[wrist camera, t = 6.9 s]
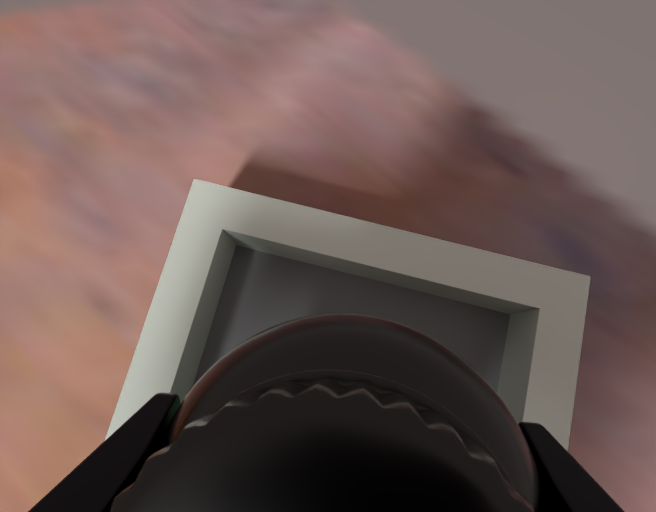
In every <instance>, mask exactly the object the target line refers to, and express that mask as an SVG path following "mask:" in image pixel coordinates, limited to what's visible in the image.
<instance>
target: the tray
mask: <svg viewBox="0 0 656 512" xmlns="http://www.w3.org/2000/svg"><path fill="white" fill-rule="evenodd" d="M590 278H591V276H587V275H583V274H579V273H575V272H571V271H567V270H563V269H559V268H555V267H551V266H547V265H543V264H539V263H534V262H530V261H526V260H522V259H518V258H514V257H510V256H506V255H502V254H498V253H494V252H490V251H486V250H482V249H478V248H474V247H469V246H465V245H461V244H457V243H453V242H449V241H445V240H441V239H437V238H433V237H429V236H425V235H421V234H417V233H413V232H409V231H404V230H400V229H396V228H392V227H388V226H384V225H380V224H376V223H372V222H368V221H364V220H360V219H356V218H352V217H348V216H344V215H339V214H335V213H331V212H327V211H323V210H319V209H315V208H311V207H307V206H303V205H299V204H295V203H291V202H287V201H283V200H279V199H275V198H270V197H266V196H262V195H258V194H254V193H250V192H246V191H242V190H238V189H234V188H230V187H226V186H222V185H218V184H214V183H210V182H205V181H201V180H197V179H194V181H193V183H192V186H191V189H190V192H189V195H188V198H187V201H186V204H185V207H184V210H183V213H182V216H181V219H180V222H179V224H178V227H177V230H176V233H175V236H174V239H173V242H172V245H171V248H170V251H169V254H168V257H167V260H166V263H165V266H164V268H163V271H162V274H161V277H160V280H159V283H158V286H157V289H156V292H155V295H154V298H153V301H152V304H151V307H150V310H149V312H148V315H147V318H146V321H145V324H144V327H143V330H142V333H141V336H140V339H139V342H138V345H137V348H136V351H135V354H134V356H133V359H132V362H131V365H130V368H129V371H128V374H127V377H126V380H125V383H124V386H123V389H122V392H121V395H120V398H119V400H118V403H117V406H116V409H115V412H114V415H113V418H112V421H111V424H110V427H109V430H108V433H107V436H106V439H107V438H109V437H110V436H111V435H112V434H113V433H114V432H115V431H116V430H117V429H118V428H119V427H120V426H122V425H123V424H124V423H125V422H126V421H127V420H128V419H129V418H130V417H131V416H132V415H133V414H135V413H136V412H137V411H138V410H139V409H140V408H141V407H142V406H143V405H144V404H145V403H146V402H148V401H149V400H150V399H151V398H152V397H153V396H154V395H155V394H157V393H174V394H177V395H178V396H179V398H180V403H182V401H183V400H184V398H185V397H186V396H187V394H188V393H189V392H190V390H191V389H192V388H193V386H194V385H195V384H196V382H197V381H198V380H199V379H200V378H201V377H202V376H203V375H204V374H205V373H206V371H207V370H208V369H209V368H210V367H211V366H212V365H214V364H215V363H216V362H217V361H218V360H219V359H220V358H221V357H222V356H224V355H225V354H226V353H228V352H229V351H230V350H232V349H233V348H234V347H236V346H237V345H238V344H240V343H242V342H243V341H245V340H247V339H248V338H250V337H251V336H253V335H255V334H257V333H259V332H261V331H263V330H265V329H268V328H270V327H272V326H275V325H278V324H281V323H283V322H286V321H290V320H294V319H298V318H301V317H307V316H313V315H319V314H334V313H345V314H360V315H367V316H374V317H379V318H383V319H387V320H391V321H394V322H397V323H400V324H403V325H406V326H409V327H411V328H414V329H416V330H418V331H420V332H422V333H424V334H427V335H429V336H430V337H432V338H434V339H435V340H437V341H439V342H441V343H442V344H444V345H445V346H447V347H448V348H450V349H451V350H453V351H454V352H455V353H457V354H458V355H460V356H461V357H462V358H463V359H464V360H465V361H467V362H468V363H469V364H470V365H471V366H472V367H474V368H475V369H476V370H477V371H478V372H479V373H480V374H481V375H482V376H483V377H484V378H485V379H486V381H487V382H488V383H489V384H490V385H491V386H492V387H493V389H494V390H495V391H496V392H497V394H498V395H499V396H500V397H501V399H502V400H503V401H504V403H505V404H506V406H507V407H508V409H509V410H510V412H511V413H512V415H513V416H514V418H515V420H516V421H517V423H520V422H532V423H539V424H541V425H542V426H544V427H545V428H546V429H547V430H548V431H549V432H550V433H551V435H552V436H553V437H554V438H555V439H556V440H557V441H558V442H559V443H560V444H561V445H562V446H563V447H564V448H565V449H566V450H567V451H568V446H569V439H570V431H571V423H572V416H573V408H574V400H575V393H576V385H577V378H578V370H579V362H580V355H581V347H582V339H583V332H584V324H585V316H586V309H587V301H588V293H589V286H590ZM106 439H105V440H106Z"/></svg>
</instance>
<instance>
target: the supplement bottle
mask: <svg viewBox="0 0 656 512" xmlns="http://www.w3.org/2000/svg"><path fill="white" fill-rule="evenodd" d="M109 512H548V509H547V502H546V497H545V493H544V489H543V485H542V480H541V477H540V474H539V471H538V468H537V465H536V462H535V459H534V457H533V454H532V452H531V450H530V448H529V445H528V443H527V441H526V438H525V436H524V434H523V432H522V431H521V429H520V427H519V425H518V423H517V421H516V420H515V418H514V416H513V415H512V413H511V412H510V410H509V409H508V407H507V406H506V404H505V403H504V401H503V400H502V399H501V397H500V396H499V395H498V394H497V392H496V391H495V390H494V389H493V387H492V386H491V385H490V384H489V383H488V382H487V381H486V379H485V378H484V377H483V376H482V375H481V374H480V373H479V372H478V371H477V370H476V369H475V368H474V367H472V366H471V365H470V364H469V363H468V362H467V361H465V360H464V359H463V358H462V357H461V356H460V355H458V354H457V353H455V352H454V351H453V350H451V349H450V348H448V347H447V346H445V345H444V344H442V343H441V342H439V341H437V340H435V339H434V338H432V337H430V336H429V335H427V334H424V333H422V332H420V331H418V330H416V329H414V328H411V327H409V326H406V325H403V324H400V323H397V322H394V321H391V320H387V319H383V318H379V317H374V316H367V315H360V314H345V313H334V314H319V315H313V316H307V317H301V318H298V319H294V320H290V321H286V322H283V323H281V324H278V325H275V326H272V327H270V328H268V329H265V330H263V331H261V332H259V333H257V334H255V335H253V336H251V337H250V338H248V339H247V340H245V341H243V342H242V343H240V344H238V345H237V346H236V347H234V348H233V349H232V350H230V351H229V352H228V353H226V354H225V355H224V356H222V357H221V358H220V359H219V360H218V361H217V362H216V363H215V364H214V365H212V366H211V367H210V368H209V369H208V370H207V371H206V373H205V374H204V375H203V376H202V377H201V378H200V379H199V380H198V381H197V382H196V384H195V385H194V386H193V388H192V389H191V390H190V392H189V393H188V394H187V396H186V397H185V398H184V400H183V401H182V403H181V404H180V406H179V408H178V409H177V411H176V412H175V414H174V416H173V418H172V420H171V422H170V424H169V426H168V428H167V430H166V432H165V434H164V436H163V439H162V441H161V444H160V447H159V449H158V451H157V452H155V453H153V454H152V455H151V456H149V458H148V459H147V460H146V461H145V463H144V465H143V467H142V469H141V470H140V472H139V474H138V477H137V479H136V481H135V482H134V483H133V484H131V485H130V486H128V487H127V488H126V489H124V490H123V491H122V492H120V493H119V494H118V495H117V496H116V497H115V498H114V500H113V503H112V505H111V508H110V511H109Z"/></svg>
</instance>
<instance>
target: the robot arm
mask: <svg viewBox="0 0 656 512" xmlns="http://www.w3.org/2000/svg"><path fill="white" fill-rule="evenodd" d="M180 404H181V403H180V398H179V396H178V395H177V394H174V393H157V394H155V395H154V396H153V397H152V398H151V399H150V400H149V401H148V402H146V403H145V404H144V405H143V406H142V407H141V408H140V409H139V410H138V411H137V412H136V413H135V414H133V415H132V416H131V417H130V418H129V419H128V420H127V421H126V422H125V423H124V424H123V425H122V426H120V427H119V428H118V429H117V430H116V431H115V432H114V433H113V434H112V435H111V436H110V437H109V438H107V439H106V440H105V441H104V442H103V443H102V444H101V445H100V446H99V447H98V448H97V449H96V450H94V451H93V452H92V453H91V454H90V455H89V456H88V457H87V458H86V459H85V460H84V461H83V462H81V463H80V464H79V465H78V466H77V467H76V468H75V469H74V470H73V471H72V472H71V473H70V474H68V475H67V476H66V477H65V478H64V479H63V480H62V481H61V482H60V483H59V484H58V485H57V486H55V487H54V488H53V489H52V490H51V491H50V492H49V493H48V494H47V495H46V496H45V497H44V498H42V499H41V500H40V501H39V502H38V503H37V504H36V505H35V506H34V507H33V508H32V509H31V510H29V511H28V512H109V511H110V508H111V505H112V503H113V500H114V498H115V497H116V496H117V495H118V494H119V493H120V492H122V491H123V490H124V489H126V488H127V487H128V486H130V485H131V484H133V483H134V482H135V481H136V479H137V477H138V474H139V472H140V470H141V469H142V467H143V465H144V463H145V461H146V460H147V459H148V458H149V456H151V455H152V454H153V453H155V452H157V451H158V449H159V447H160V444H161V441H162V439H163V436H164V434H165V432H166V430H167V428H168V426H169V424H170V422H171V420H172V418H173V416H174V414H175V412H176V411H177V409H178V408H179V406H180ZM518 425H519V427H520V429H521V431H522V432H523V434H524V436H525V438H526V441H527V443H528V445H529V448H530V450H531V452H532V454H533V457H534V459H535V462H536V465H537V468H538V471H539V474H540V477H541V480H542V485H543V489H544V493H545V497H546V502H547V509H548V512H624V511H623V510H622V509H621V508H620V506H619V505H618V504H617V503H616V502H615V501H614V500H613V499H612V498H611V497H610V496H609V495H608V494H607V493H606V492H605V491H604V490H603V488H602V487H601V486H600V485H599V484H598V483H597V482H596V481H595V480H594V479H593V478H592V477H591V476H590V475H589V474H588V473H587V472H586V470H585V469H584V468H583V467H582V466H581V465H580V464H579V463H578V462H577V461H576V460H575V459H574V458H573V457H572V456H571V455H570V454H569V453H568V451H567V450H566V449H565V448H564V447H563V446H562V445H561V444H560V443H559V442H558V441H557V440H556V439H555V438H554V437H553V436H552V435H551V433H550V432H549V431H548V430H547V429H546V428H545V427H544V426H542V425H541V424H539V423H532V422H520V423H518Z"/></svg>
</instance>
